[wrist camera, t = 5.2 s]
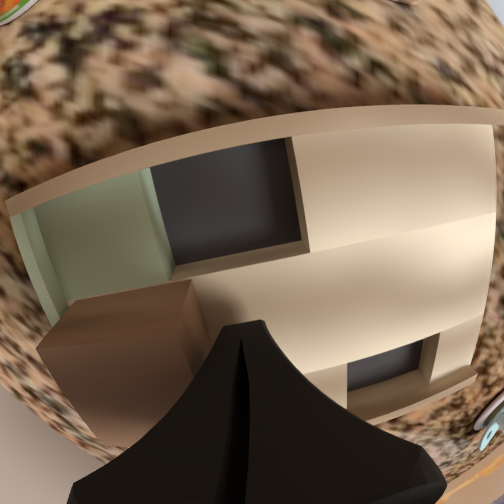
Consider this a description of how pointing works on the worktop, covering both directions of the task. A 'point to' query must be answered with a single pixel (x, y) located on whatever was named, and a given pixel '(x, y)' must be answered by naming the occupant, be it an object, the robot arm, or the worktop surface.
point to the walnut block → (127, 357)
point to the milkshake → (408, 2)
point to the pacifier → (491, 420)
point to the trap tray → (296, 240)
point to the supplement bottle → (13, 9)
